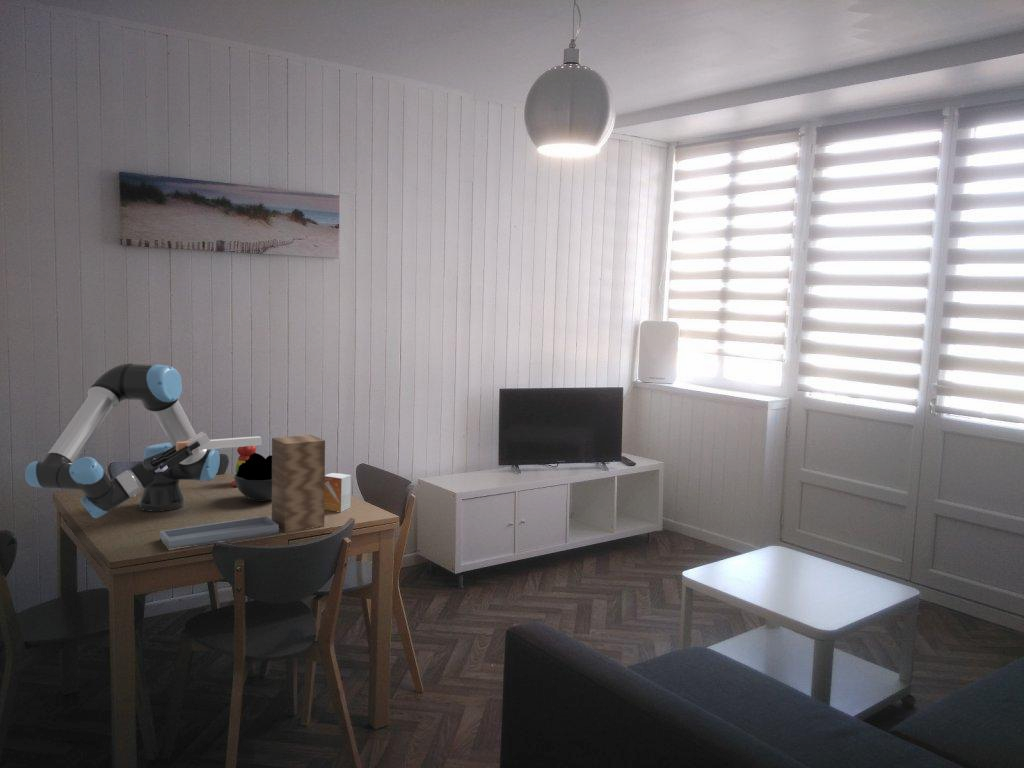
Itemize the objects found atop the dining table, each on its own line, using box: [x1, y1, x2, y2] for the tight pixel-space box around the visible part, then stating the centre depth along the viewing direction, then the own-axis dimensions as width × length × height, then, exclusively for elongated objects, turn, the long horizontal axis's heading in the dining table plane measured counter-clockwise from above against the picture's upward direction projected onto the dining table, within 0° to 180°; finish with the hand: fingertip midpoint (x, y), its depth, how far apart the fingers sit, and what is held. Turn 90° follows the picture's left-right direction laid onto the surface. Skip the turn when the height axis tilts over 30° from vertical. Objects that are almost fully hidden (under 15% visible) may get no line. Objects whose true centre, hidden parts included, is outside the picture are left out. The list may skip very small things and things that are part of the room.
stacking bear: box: [230, 446, 257, 487], centre depth 316 cm, size 11×10×18 cm
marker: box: [176, 435, 263, 451], centre depth 245 cm, size 26×3×3 cm, turn 127°
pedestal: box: [271, 434, 326, 533], centre depth 262 cm, size 14×12×30 cm
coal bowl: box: [233, 452, 272, 502], centre depth 293 cm, size 20×20×19 cm
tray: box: [159, 515, 280, 549], centre depth 248 cm, size 34×12×3 cm, turn 127°
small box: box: [324, 472, 352, 513], centre depth 284 cm, size 8×6×13 cm
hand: (206, 436), depth 242 cm, fingers closed on marker, 3 cm apart
